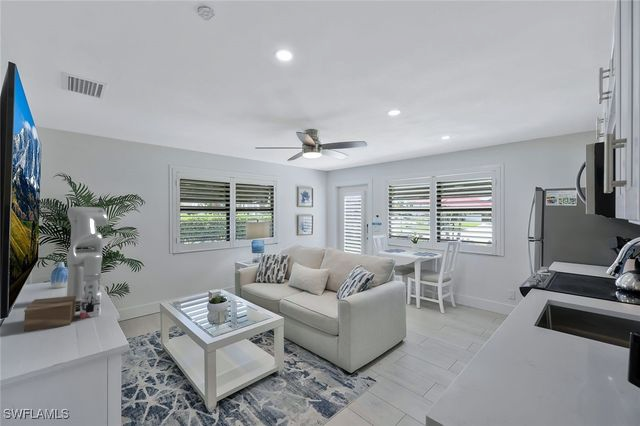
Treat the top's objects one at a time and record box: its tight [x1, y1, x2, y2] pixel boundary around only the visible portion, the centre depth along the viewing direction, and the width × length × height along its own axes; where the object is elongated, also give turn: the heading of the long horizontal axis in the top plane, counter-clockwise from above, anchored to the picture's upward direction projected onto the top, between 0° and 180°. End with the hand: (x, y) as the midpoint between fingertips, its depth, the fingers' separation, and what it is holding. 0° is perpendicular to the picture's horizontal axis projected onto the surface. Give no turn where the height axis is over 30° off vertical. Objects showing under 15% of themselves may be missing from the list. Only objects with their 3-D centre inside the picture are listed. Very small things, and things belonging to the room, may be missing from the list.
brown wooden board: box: [23, 295, 77, 313], centre depth 141 cm, size 18×16×1 cm
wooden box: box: [23, 299, 77, 332], centre depth 141 cm, size 18×16×9 cm
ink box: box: [79, 291, 102, 319], centre depth 152 cm, size 8×5×12 cm, turn 123°
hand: (90, 309), depth 151 cm, fingers open, 7 cm apart
